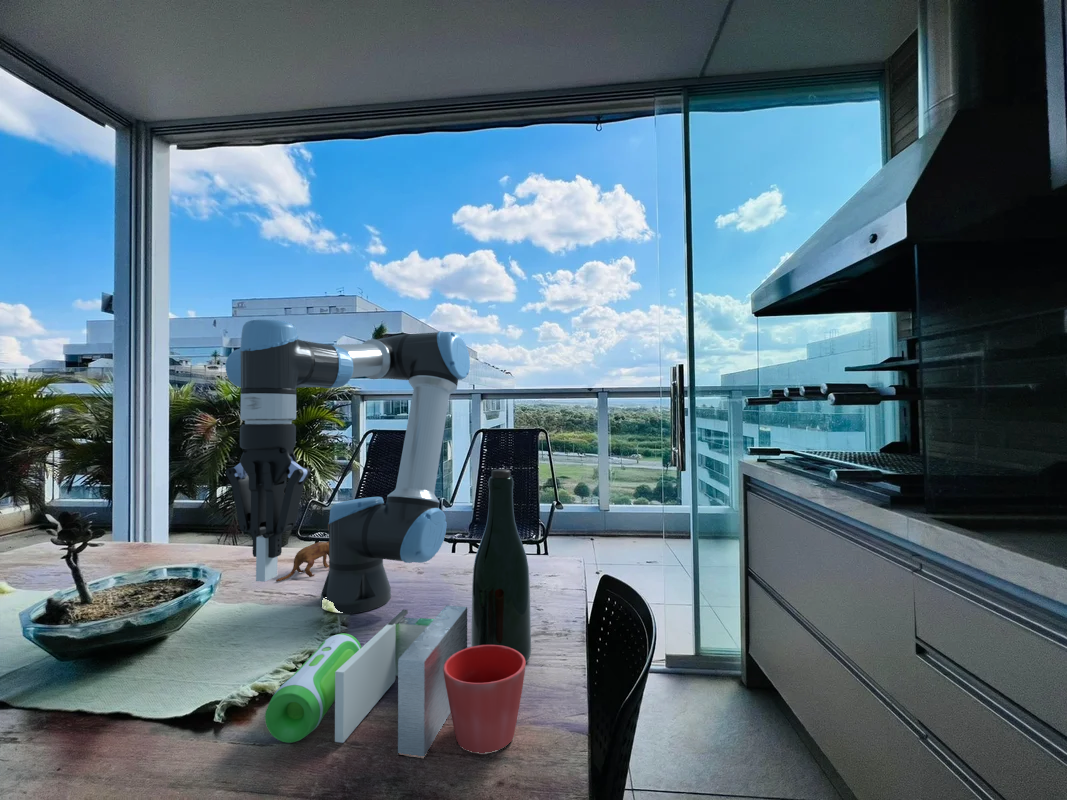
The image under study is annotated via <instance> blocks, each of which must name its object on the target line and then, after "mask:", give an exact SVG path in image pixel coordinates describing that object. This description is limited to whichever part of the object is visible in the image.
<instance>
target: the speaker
mask: <svg viewBox="0 0 1067 800" xmlns="http://www.w3.org/2000/svg"><path fill="white" fill-rule="evenodd" d="M362 647H363V646H361V643H360V641H359V640H358V639H357V638H356V637H355V636H354V635H352V634H349V633H344V632H343V633H337V634H335V635H331V636H330V637H328V638H326V639H325V640H324V641H322V642H321V643H320V645H319V646H318V648H317V649H316V650H315V651H314V652H313V653H312V654H311V655H310V656H309V657H308V658H307V660H306V661H305V662H304V663H303V664H301V666H300V667H299V668H298V669H297V670H296V671H295V672H294V673H293V674H292V675H291V677H289V678H288V679H287V680H286V681H285V682H283V683H282V685H280V686H279V687H278V689H277V690H275V692H274V694H273V696H272V697H271V699H270V701H269V703H268V705H267V707H266V710H265V715H264V719H265V720H264V721H265V725H266V728H267V730H268V732H269V734H270V735H271V736H272V737H274V739H276V740H278V741H280V742H283V743H287V744H288V743H289V744H290V743H295V742H296V743H297V742H299V741H301V740H302V739H304V738H305V737H307V736H309V735H310V734H311V733H313V731H314V730H316V729H317V728H318V727H319V725H320V724H321V722H322V720H323V718H324V717H325V716H326V714H327V712H328V711H329V710H330V708H331V707H332V705H333V704H335V671H337V670H338V669H339V668H340V667H341V666H342V665H343V664H344V663H345V662H346V661H347V660H349V659H350V658H351V657H352V656H353V655H354V654H355V653H356V652H357V651H358V650H360V649H361V648H362Z"/></svg>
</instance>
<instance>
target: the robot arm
mask: <svg viewBox="0 0 1067 800" xmlns="http://www.w3.org/2000/svg"><path fill="white" fill-rule="evenodd" d="M470 370H471V358H470V353H469V349H468V346H467V344H466V342H465V340H464V339H463V337H462V336H461V335H460V334H459V333H457V332H454V331H444V330H443V331H442V330H439V331H437V332H424V333H423V332H422V333H402V334H398V335H392V336H389V337H383V338H376V339H374V338H372V339H367V340H365V341H364V342H362V343H351V344H350V343H348V344H347V343H346V344H345V343H344V344H324V343H318V342H314V341H308V340H307V341H305V340H301V339H299V335H298V331H297V327H296V326H295V325H294V324H292V323H291V322H288V321H283V320H276V319H253V320H248V321H247V322H245V323H244V324H243V325H242V331H241V339H240V347H239V348H237V349H234V350H233V351H232V352H231V353H230V354H229V355H228V357H227V358H226V361H225V373H226V376H227V378H228V380H229V381H230V382H231V383H232V384H233V385H234V386H236V388H237V387H238V388H240V413H239V414H240V417H239V418H240V420H241V421H244V424H241V426H239V448H241V449H242V454H241V457H240V459H239V461H240V462H239V463H238V464H237V465H235V466H234V467H230V468H229V467H227V468H226V469H225V476H226V477H227V478H228V481H229V483H230V484H231V489H232V490H231V491H232V494H233V499H234V504H235V509H236V514H237V520H238V525H239V530H240V531H241V532H247V533H249V534H250V535H251V536H252V556H253V558H256V559H255V561H256V563H255V582H262V583H263V582H264V583H265V582H267V581H269V580H272V579H273V578H277V576H278V564H279V563H278V562H279V561H278V557H279V556H281V555H282V551H283V550H282V547H283V546H282V545H283V543H282V542H283V541H282V540H283V534H285V532H288V531H291V530H293V529H294V528H295V526H296V521H297V517H298V513H299V508H300V504H301V499H302V495H303V491H304V486H305V483H306V481H307V479H308V478H309V476H310V475H311V471H312V470H311V468H309V467H303V466H301V465H300V464H298V463H297V457H296V456H295V453H294V448H295V447H296V443H297V442H296V440H297V438H296V437H297V435H296V434H297V425H295V423H293V421H295V420H296V419H297V388H324V389H335V388H337V389H339V388H341V387H343V386H345V385H346V384H348V383H349V382H350V380H351V379H353V378H363V377H365V378H368V379H369V380H380V379H381V380H382V379H385V380H386V379H387V380H400V381H408V384H409V385H410V386H411V387H412V389H413V390H412V397H411V401H410V406H409V407H410V408H409V412H408V419H407V425H406V430H405V435H404V440H403V447H402V453H401V457H400V464H399V468H398V475H397V480H396V486H395V488H394V490H393V491H391V492H390V493H389V494H387V497H386V502H385V501H384V498H383V497H382V496H371V497H362V498H356V499H350V500H344V501H341V502H337V503H335V504H333V505H332V506H331V508H330V510H329V520H328V521H329V522H328V524H329V531H328V541H329V556H328V565H329V567H328V572H327V576H326V578H325V582H324V585H323V587H322V589H321V590H322V591H321V593H320V608H321V607H322V600H323V598H325V597H327V598H325V599H327V600H329V601H331V602H333V603H334V606H335V608H336V609H337V610H338V611H340V612H343V613H347V614H348V615H349V614H358V613H363V612H368V611H371V610H375V609H377V608H379V607H381V606H384V605H386V604H387V603H388V602H389V601H390V600H391V597H392V595H391V592H392V591H391V584H390V581H389V578H388V576H387V572H386V569H385V567H384V560H389V561H396V562H403V563H407V564H408V563H409V564H412V563H417V564H418V563H420V564H421V563H423V564H424V563H427V562H428V561H430V560H432V559H433V558H434V557H435V556H436V554H437V553H438V552H439V550H440V549H441V547H442V545H443V543H444V542H445V541H444V540H445V537H446V533H447V524H448V523H447V521H446V520H447V516H446V515H445V512H444V511H443V510H441V508H439V507H440V501H439V499H438V498H437V497H438V496H436V494H435V491H436V485H437V484H436V483H437V479H438V471H439V465H440V460H441V453H442V446H443V439H444V433H445V426H446V421H447V414H448V413H447V412H448V407H449V400H450V395H451V394H453V393H454V392H456V391H457V389H458V384H459V381H462V380H464V379H466V378H467V377H468V375H469V373H470ZM287 478H288V479H287Z"/></svg>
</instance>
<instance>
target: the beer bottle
mask: <svg viewBox="0 0 1067 800" xmlns="http://www.w3.org/2000/svg"><path fill="white" fill-rule="evenodd" d="M490 474H491V476H490V477H489V479H488V491H489V492H488V510H487V511H488V512H487V517H486V519H487V520H486V525H485V528H484V532H483V535H482V538H481V540H480V543H479V546H478V549H477V551H476V553H475V554H476V555H475V556H474V557H475V558H474V563H473V567H472V569H473V570H472V571H473V572H472V585H471V625H470V626H471V629H470V630H471V632H470V633H471V634H470V635H471V638H470V641H471V643H470V644H471V645H470V647H474V646H480V645H500V646H506V647H509V648H512V649H514V650H516V651H518V652H520V653H521V654H522V655H523V656H524V658H525V661H526V663H528V661H529V660H530V658H531V655H532V654H531V653H532V623H531V622H532V620H531V619H532V618H531V613H532V612H531V583H530V582H531V581H530V580H531V579H530V566H529V561H528V556H527V553H526V550H525V547H524V545H523V542H522V540H521V537H520V534H519V531H518V528H517V524H516V520H515V519H516V518H515V513H514V512H515V511H514V498H513V497H514V494H513V493H514V492H513V491H514V479H513V477H512V476H511V470H510V469H505V468H504V469H502V468H501V469H500V468H499V469H493V470H491V473H490Z"/></svg>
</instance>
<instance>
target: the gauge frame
mask: <svg viewBox="0 0 1067 800" xmlns="http://www.w3.org/2000/svg"><path fill="white" fill-rule="evenodd" d="M466 648H468V606H461V605H460V606H459V605H445V607H443V609H442V610H441V611H440V612H439V613H438V614H437V615H436V616H435V617H434V618H425V617H424V618H421V617H419V618H418V617H417V618H416V617H406V616H404V617H403V618H402V619H401V620H400V621H399V622H398V623H397V624H396V641H395V677H398V678H397V691H398V692H397V702H398V703H397V754H398V753H401V754H402V753H403V754H409V755H410V754H411V755H418V756H425V754H426V753H427V751H428V749H429V748H430V746H431V744H432V742H433V741H434V739H435V737H436V735H437V734H438V732H439V731H440V732H441V730H442V728H443V727H444V725H443V724H445V723H446V721H447V720H446V719H448V717H449V716H450V715H451V711H450V706H449V700H448V695H447V689H446V684H445V678H444V672H443V668H444V664H445V662H446V661H447V660H448V659H449V658H450V657H451V656H452V655H453V654H455V653H457V652H459V651H461V650H463V649H466ZM442 726H443V727H442ZM440 729H441V730H440ZM440 732H439V733H440ZM438 735H439V734H438ZM436 738H437V737H436ZM435 740H436V739H435ZM434 742H435V741H434ZM432 745H433V744H432ZM431 747H432V746H431ZM430 749H431V748H430ZM428 752H429V751H428ZM427 754H428V753H427Z"/></svg>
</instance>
